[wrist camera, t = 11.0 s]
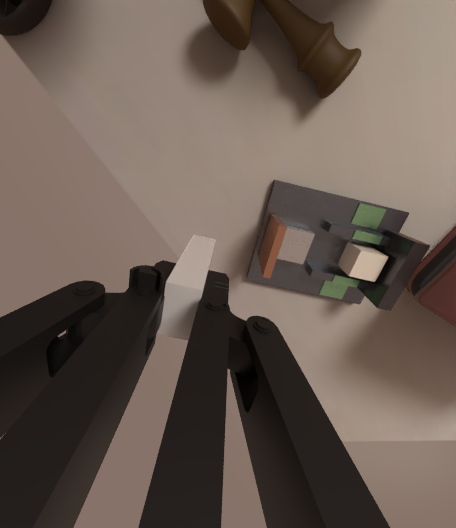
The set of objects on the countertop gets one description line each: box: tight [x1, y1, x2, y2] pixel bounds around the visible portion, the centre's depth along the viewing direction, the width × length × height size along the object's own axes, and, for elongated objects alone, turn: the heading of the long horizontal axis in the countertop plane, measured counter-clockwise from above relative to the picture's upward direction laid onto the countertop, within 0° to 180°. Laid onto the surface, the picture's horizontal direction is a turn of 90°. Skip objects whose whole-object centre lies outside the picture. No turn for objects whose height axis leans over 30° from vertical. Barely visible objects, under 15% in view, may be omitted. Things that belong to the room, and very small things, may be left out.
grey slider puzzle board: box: [246, 180, 430, 311], centre depth 33 cm, size 20×16×7 cm
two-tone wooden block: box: [258, 214, 315, 278], centre depth 31 cm, size 6×7×7 cm
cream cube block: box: [338, 242, 388, 282], centre depth 34 cm, size 4×4×4 cm
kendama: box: [203, 0, 361, 99], centre depth 24 cm, size 6×10×20 cm
